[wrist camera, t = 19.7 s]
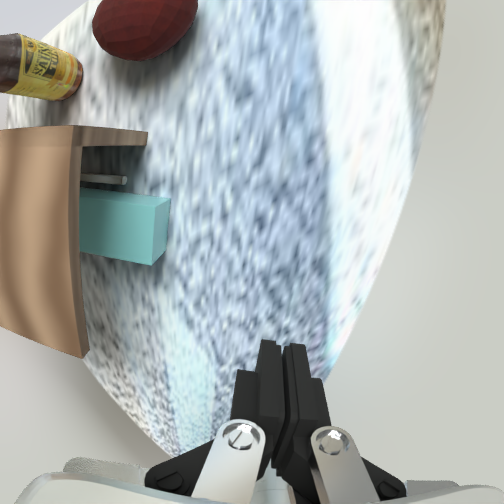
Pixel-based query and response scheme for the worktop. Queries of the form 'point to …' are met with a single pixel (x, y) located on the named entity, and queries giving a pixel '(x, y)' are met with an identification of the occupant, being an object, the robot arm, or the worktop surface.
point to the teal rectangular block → (123, 225)
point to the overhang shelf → (47, 230)
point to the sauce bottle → (37, 69)
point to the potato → (142, 26)
